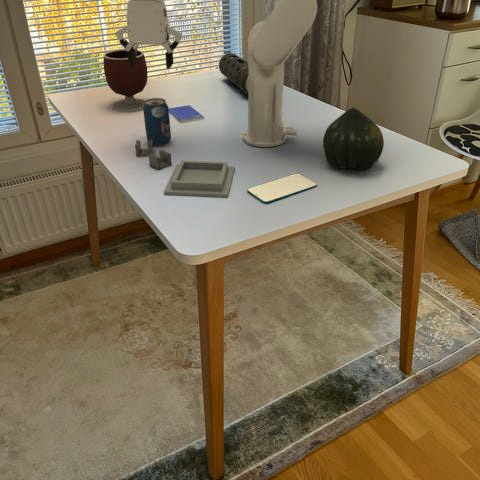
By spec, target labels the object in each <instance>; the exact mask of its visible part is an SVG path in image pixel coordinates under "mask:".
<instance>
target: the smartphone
mask: <svg viewBox="0 0 480 480" xmlns="http://www.w3.org/2000/svg"><path fill="white" fill-rule="evenodd" d="M317 186H318V184H317V183H316V182H315V181H313V180H311V179H309V178H307V177H306V176H305V175H303V174H301V173H293V174H290V175H286V176H284V177H280V178H278V179H274V180H271V181H267V182H264V183H261V184H258V185H254V186H251V187H249V188H248V187H247V188H246V190H247V191H246V192H247V194H249V195H250V196H251V197H253V198H254V199H256V200H257V201H258V202H260V203H261V204H263V205H268V204H272V203H275V202H277V201H281V200H283V199H286V198H289V197H292V196H295V195H298V194H300V193H302V192H305V191H309V190H312V189H314V188H317Z"/></svg>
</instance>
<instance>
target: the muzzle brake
mask: <svg viewBox="0 0 480 480" xmlns="http://www.w3.org/2000/svg"><path fill="white" fill-rule="evenodd" d="M218 70H219V72H220V73H221V75H223V76H224V77H225V78H227V80H229V81H230V82H232V83H233V84H234V85H236V86H237V87H238V88H239V89H240V90H241V91H242V92H243V93H245V94H246V95H247V96H248V84H249V65H248V61H246V60H245V59H243V58H242V57H240V55H239V56H238V55H237V54H236V53H233V52H227V53H225V54H223V55H222V57H221V58H220V59H219V61H218Z"/></svg>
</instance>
